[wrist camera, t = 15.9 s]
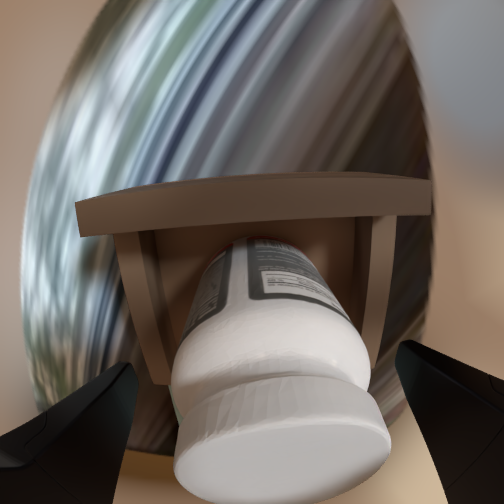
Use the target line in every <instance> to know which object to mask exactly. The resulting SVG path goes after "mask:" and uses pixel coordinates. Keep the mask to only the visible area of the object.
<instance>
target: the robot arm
mask: <svg viewBox="0 0 504 504" xmlns="http://www.w3.org/2000/svg"><path fill="white" fill-rule="evenodd" d="M395 367H396V370H397V373H398V376H399V378H400V381H401V384H402V387H403V390H404V393H405V396H406V399H407V401H408V404H409V406H410V408H411V410H412V412H413V414H414V417H415V419H416V421H417V423H418V426H419V428H420V430H421V433H422V435H423V437H424V440H425V442H426V445H427V447H428V449H429V452H430V454H431V457H432V459H433V462H434V465H435V467H436V470H437V472H438V475H439V478H440V480H441V483H442V486H443V489H444V492H445V495H446V498H447V501H448V504H504V380H502V379H499V378H497V377H494V376H492V375H490V374H487V373H485V372H483V371H481V370H478V369H476V368H474V367H471V366H469V365H467V364H465V363H462V362H460V361H458V360H456V359H453V358H451V357H449V356H447V355H445V354H442V353H440V352H438V351H436V350H433V349H431V348H429V347H426V346H424V345H422V344H420V343H418V342H416V341H413V340H405V341H402V342H400V344H399V347H398V350H397V354H396V358H395ZM138 385H139V384H138V379H137V376H136V374H135V371H134V369H133V366H132V364H131V363H129V362H118V363H116V364H115V365H113V366H112V367H110V368H109V369H107V370H106V371H104V372H103V373H102V374H100V375H99V376H97V377H96V378H94V379H93V380H91V381H90V382H88V383H87V384H85V385H84V386H82V387H81V388H79V389H78V390H76V391H75V392H73V393H72V394H70V395H69V396H67V397H66V398H64V399H63V400H61V401H60V402H58V403H57V404H55V405H54V406H52V407H51V408H49V409H48V410H47V411H44V412H43V413H41V414H40V415H38V416H37V417H35V418H33V419H32V420H30V421H29V422H27V423H25V424H23V425H21V426H19V427H17V428H16V429H14V430H12V431H10V432H8V433H6V434H4V435H2V436H0V504H112V503H113V499H114V493H115V489H116V485H117V480H118V476H119V471H120V468H121V463H122V460H123V456H124V452H125V448H126V444H127V441H128V437H129V433H130V430H131V426H132V421H133V416H134V410H135V403H136V397H137V392H138Z"/></svg>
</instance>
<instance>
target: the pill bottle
mask: <svg viewBox="0 0 504 504" xmlns="http://www.w3.org/2000/svg"><path fill="white" fill-rule="evenodd" d="M369 381H370V360H369V356H368V352H367V349H366V347H365V345H364V343H363V341H362V339H361V337H360V335H359V333H358V331H357V329H356V328H355V326H354V325H353V323H352V322H351V320H350V319H349V317H348V315H347V314H346V313H345V311H344V310H343V308H342V307H341V305H340V304H339V302H338V301H337V299H336V297H335V296H334V294H333V293H332V291H331V290H330V288H329V287H328V285H327V284H326V282H325V281H324V279H323V278H322V276H321V275H320V273H319V272H318V270H317V269H316V268H315V266H314V265H313V263H312V262H311V260H310V259H309V258H308V257H307V255H306V254H305V253H304V252H303V251H302V250H300V249H299V248H298V247H297V246H295V245H294V244H292V243H290V242H289V241H286V240H284V239H281V238H278V237H274V236H268V235H253V236H248V237H243V238H240V239H237V240H235V241H233V242H231V243H229V244H227V245H226V246H224V247H223V248H221V249H220V250H219V251H218V252H217V253H216V254H215V255H214V256H213V257H212V258H211V260H210V261H209V262H208V264H207V266H206V268H205V270H204V272H203V274H202V277H201V279H200V283H199V285H198V288H197V291H196V294H195V297H194V300H193V303H192V306H191V309H190V312H189V315H188V318H187V321H186V324H185V327H184V330H183V333H182V336H181V339H180V343H179V346H178V349H177V352H176V355H175V359H174V364H173V369H172V374H171V388H172V394H173V398H174V401H175V404H176V406H177V408H178V410H179V412H180V414H181V415H182V417H183V418H184V419H183V420H182V422H181V424H180V426H179V430H178V438H177V444H176V450H175V456H174V463H173V467H174V474H175V476H176V478H177V480H178V481H179V483H180V484H181V485H182V486H183V487H184V488H185V489H187V490H188V491H189V492H191V493H192V494H194V495H196V496H198V497H200V498H202V499H204V500H207V501H210V502H212V503H216V504H314V503H318V502H321V501H324V500H327V499H330V498H333V497H335V496H338V495H340V494H342V493H345V492H347V491H349V490H351V489H353V488H355V487H356V486H358V485H360V484H361V483H363V482H364V481H366V480H367V479H368V478H370V477H371V476H372V475H373V474H375V473H376V472H377V471H378V470H379V469H380V467H381V466H382V465H383V464H384V463H385V461H386V459H387V457H388V456H389V453H390V450H391V439H390V435H389V432H388V430H387V428H386V425H385V423H384V420H383V418H382V415H381V413H380V410H379V408H378V406H377V404H376V402H375V400H374V399H373V397H372V396H371V395H370V394H369V393H367V389H368V386H369Z"/></svg>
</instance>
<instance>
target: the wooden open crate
mask: <svg viewBox="0 0 504 504" xmlns="http://www.w3.org/2000/svg"><path fill="white" fill-rule="evenodd" d="M431 193H432V181H431V180H425V179H418V178H411V177H403V176H395V175H387V174H378V173H368V172H292V173H268V174H250V175H235V176H222V177H211V178H201V179H191V180H182V181H173V182H165V183H157V184H150V185H143V186H136V187H132V188H128V189H124V190H120V191H115V192H112V193H108V194H104V195H100V196H96V197H92V198H89V199H85V200H82V201H78V202H75V208H76V215H77V221H78V227H79V233H80V237H88V236H96V235H105V234H113V237H114V243H115V248H116V253H117V258H118V263H119V268H120V273H121V277H122V281H123V286H124V290H125V294H126V298H127V302H128V306H129V309H130V313H131V317H132V320H133V324H134V327H135V331H136V334H137V337H138V340H139V344H140V347H141V350H142V353H143V356H144V359H145V362H146V365H147V367H148V370H149V373H150V376H151V379H152V381H153V384H156V385H171V374H172V369H173V364H174V359H175V355H176V352H177V349H178V346H179V343H180V339H181V336H182V333H183V330H184V327H185V324H186V321H187V318H188V315H189V312H190V309H191V306H192V303H193V300H194V297H195V294H196V291H197V288H198V285H199V283H200V279H201V277H202V274H203V272H204V270H205V268H206V266H207V264H208V262H209V261H210V260H211V258H212V257H213V256H214V255H215V254H216V253H217V252H218V251H219V250H220V249H221V248H223V247H224V246H226V245H227V244H229V243H231V242H233V241H235V240H237V239H240V238H243V237H248V236H253V235H268V236H274V237H278V238H281V239H284V240H286V241H289V242H290V243H292V244H294V245H295V246H297V247H298V248H299V249H300V250H302V251H303V252H304V253H305V254H306V255H307V257H308V258H309V259H310V260H311V262H312V263H313V265H314V266H315V268H316V269H317V270H318V272H319V273H320V275H321V276H322V278H323V279H324V281H325V282H326V284H327V285H328V287H329V288H330V290H331V291H332V293H333V294H334V296H335V297H336V299H337V301H338V302H339V304H340V305H341V307H342V308H343V310H344V311H345V313H346V314H347V315H348V317H349V319H350V320H351V322H352V323H353V325H354V326H355V328H356V329H357V331H358V333H359V335H360V337H361V339H362V341H363V343H364V345H365V347H366V349H367V352H368V356H369V360H370V369H372V368H374V367H375V363H376V359H377V355H378V351H379V346H380V341H381V337H382V332H383V327H384V321H385V316H386V310H387V304H388V297H389V291H390V283H391V276H392V267H393V258H394V247H395V234H396V216H397V215H431Z"/></svg>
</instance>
